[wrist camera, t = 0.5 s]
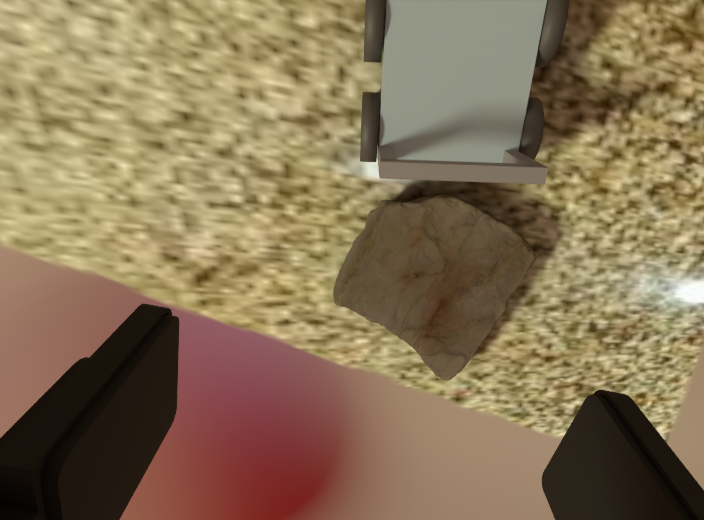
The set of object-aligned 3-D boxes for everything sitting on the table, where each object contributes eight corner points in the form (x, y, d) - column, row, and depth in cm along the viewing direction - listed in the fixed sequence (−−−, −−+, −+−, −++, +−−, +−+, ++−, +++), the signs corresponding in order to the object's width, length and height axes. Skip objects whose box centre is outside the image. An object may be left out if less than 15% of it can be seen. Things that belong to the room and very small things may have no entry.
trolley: (367, -15, 30) (366, -51, 21) (544, -10, 30) (622, -45, 21) (360, 154, 35) (358, 185, 26) (512, 160, 35) (564, 193, 26)
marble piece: (444, 364, 44) (450, 392, 40) (316, 309, 42) (311, 333, 38) (541, 232, 38) (561, 251, 34) (397, 158, 36) (400, 169, 32)
